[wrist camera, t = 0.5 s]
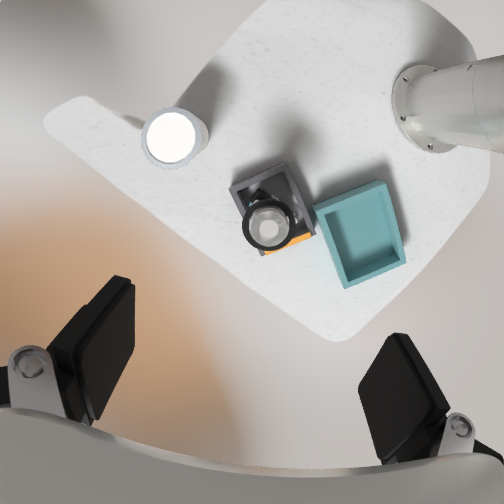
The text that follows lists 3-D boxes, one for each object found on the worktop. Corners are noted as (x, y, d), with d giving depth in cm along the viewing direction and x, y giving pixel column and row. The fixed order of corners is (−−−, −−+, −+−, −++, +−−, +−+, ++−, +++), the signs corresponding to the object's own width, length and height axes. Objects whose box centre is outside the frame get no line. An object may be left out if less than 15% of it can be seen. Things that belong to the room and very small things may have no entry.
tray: (377, 179, 35) (385, 183, 32) (398, 254, 39) (406, 262, 36) (311, 205, 37) (315, 211, 34) (339, 278, 41) (344, 289, 38)
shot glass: (152, 146, 35) (129, 149, 28) (180, 101, 32) (161, 95, 26) (194, 173, 36) (179, 182, 29) (224, 128, 34) (214, 127, 27)
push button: (306, 204, 37) (318, 227, 27) (284, 237, 39) (288, 270, 29) (261, 176, 36) (259, 191, 26) (240, 211, 38) (231, 237, 28)
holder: (285, 162, 35) (286, 163, 33) (314, 229, 38) (316, 234, 36) (230, 186, 36) (228, 189, 34) (261, 250, 40) (261, 257, 37)
